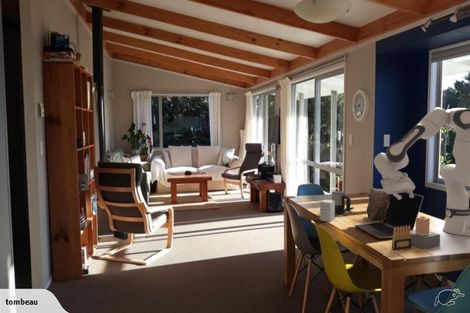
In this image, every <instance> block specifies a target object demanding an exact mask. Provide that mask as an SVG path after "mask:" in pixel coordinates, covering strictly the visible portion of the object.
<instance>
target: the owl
mask: <svg viewBox="0 0 470 313" xmlns="http://www.w3.org/2000/svg"><path fill="white" fill-rule="evenodd" d="M389 196H390V195H389V194H387V193H386V192H385V191H384V189H383V188H374V187H370V192H369V194H368V204H367V208H366V215H367V219H368V220H369V222H384V221H383V220H384V218H385V215H386V212H387V208H389V205H390V198H389Z"/></svg>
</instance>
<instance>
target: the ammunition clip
mask: <svg viewBox="0 0 470 313" xmlns="http://www.w3.org/2000/svg"><path fill="white" fill-rule="evenodd" d="M410 231H411V226H410V224H409V225H408V226H407V225H403V226H401V225H400V226H398V225H397V227H396V226H394V228H393V232H392V239H391V250H393V251H398V250H406V249H407V250H408V249H412V245H411V232H410Z"/></svg>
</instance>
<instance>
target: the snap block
mask: <svg viewBox="0 0 470 313" xmlns="http://www.w3.org/2000/svg"><path fill="white" fill-rule="evenodd" d="M430 220H431V218H430V217H426V216H423V215H421V216H417V217H415V230H416V232H417V233H420V234H428V233H429V231H430V223H431V222H430Z"/></svg>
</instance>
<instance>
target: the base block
mask: <svg viewBox="0 0 470 313" xmlns="http://www.w3.org/2000/svg"><path fill="white" fill-rule="evenodd" d="M410 232H411V246H413V247H416V248H419V249H422V250H425V249H426V250H427V249H431V248H435V247H440V246H441V245H440V244H441V234H439V233H436V232H432V231H430V230H429V233H428V234H420V233H417V232H416V229H412V230H411V229H410Z"/></svg>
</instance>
